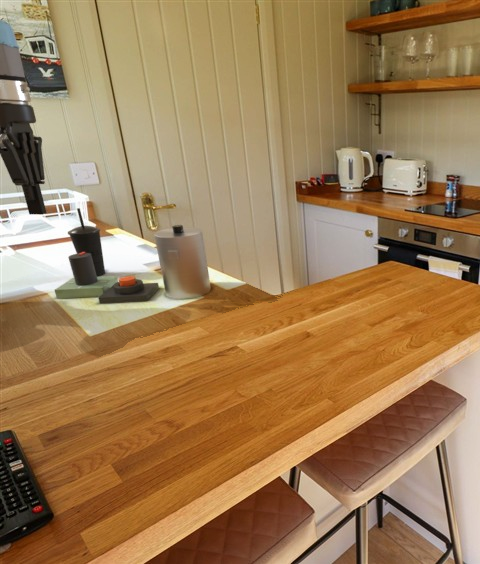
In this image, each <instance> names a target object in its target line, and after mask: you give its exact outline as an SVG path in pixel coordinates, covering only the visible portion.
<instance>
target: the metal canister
mask: <svg viewBox="0 0 480 564" xmlns="http://www.w3.org/2000/svg"><path fill="white" fill-rule="evenodd" d="M153 235H154V241H155V246H156V252H157V257H158V262H159V266H160V270H161V276H162V282H163V288H164V291H165V296H166V297H167V298H169V299H172V300H173V299H174V300H187V299H195V298H198V297H202V296H204V295H206V294H208V293H209V292H210V291H211V290H212V285H211V280H210V274H209V273H210V272H209V267H208V260H207V253H206V248H205V242H204V235H203V229H201V228H199V227H194V226H183V225H182V224H175V225H174V224H173V225H172V226H171V227H169V228H164V229H161V230H158V231H156V232H154V234H153Z"/></svg>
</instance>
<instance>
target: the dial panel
mask: <svg viewBox="0 0 480 564" xmlns="http://www.w3.org/2000/svg"><path fill="white" fill-rule="evenodd" d="M97 280H98V281H97V282H96V283H93V284H90V285H76V283H75V279H74V277H72V278H70V279H69V280H67V281H66V282H63V284H61V285H59V286H58V287H56V288H55V289H54V293H55V297H56V299H58V300H59V299H75V298H76V299H77V298H94V297H95V298H96V297H100V296H101V295H102V294H103V293H105V292H106V291H107V290H108V289H109V288H111V287H112V286H113V285H114V284H115V283H117V282H119V279H118V275H107V276H105V275H102V276H99V277H97Z"/></svg>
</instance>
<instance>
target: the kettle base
mask: <svg viewBox="0 0 480 564" xmlns="http://www.w3.org/2000/svg"><path fill="white" fill-rule="evenodd" d="M135 280H136V284H134V285H131V286H120V283H119V281H118V282H117V283H115V284H114V285H113V286H112V287H111V288H109V289H108V290H107V291H106V292H105V293H103V294H102V295H101V296H98V298H97V299H98V303H99V304H116V303H117V304H119V303H135V302H148V301H149V300H150V299H151V298H152V297H153V295H155V293H156V292H157V291H158V290H159V289H160V286H159V282H144V281H143V280H142V279H138V278H135Z"/></svg>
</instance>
